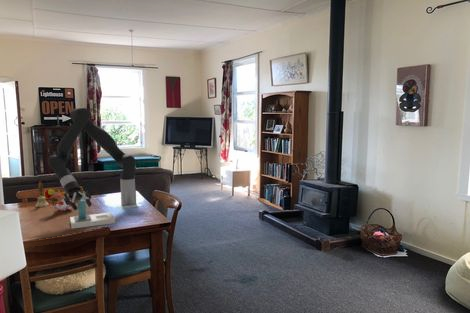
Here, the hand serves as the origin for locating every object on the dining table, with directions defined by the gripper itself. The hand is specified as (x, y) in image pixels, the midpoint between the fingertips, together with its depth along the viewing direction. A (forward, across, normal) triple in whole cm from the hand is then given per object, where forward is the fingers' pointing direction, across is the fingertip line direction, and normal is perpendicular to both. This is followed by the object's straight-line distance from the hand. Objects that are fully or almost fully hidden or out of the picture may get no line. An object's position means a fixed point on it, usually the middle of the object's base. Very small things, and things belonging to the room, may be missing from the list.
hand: (83, 207), depth 196 cm
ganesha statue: (-19, +9, +33) cm, 39 cm away
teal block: (+3, 0, +5) cm, 6 cm away
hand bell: (-36, +10, +50) cm, 63 cm away
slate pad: (+4, 0, +6) cm, 7 cm away
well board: (+8, +4, +6) cm, 11 cm away
